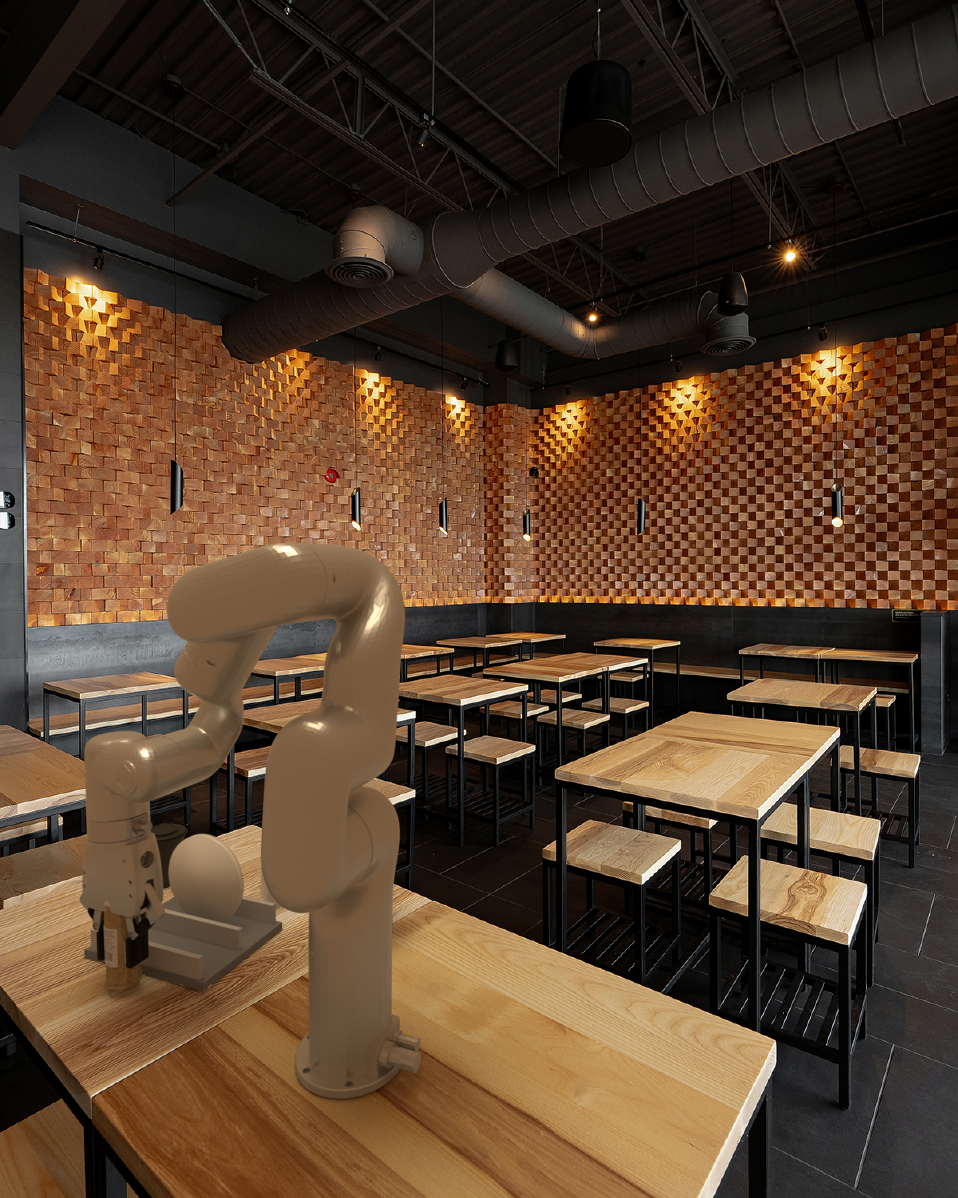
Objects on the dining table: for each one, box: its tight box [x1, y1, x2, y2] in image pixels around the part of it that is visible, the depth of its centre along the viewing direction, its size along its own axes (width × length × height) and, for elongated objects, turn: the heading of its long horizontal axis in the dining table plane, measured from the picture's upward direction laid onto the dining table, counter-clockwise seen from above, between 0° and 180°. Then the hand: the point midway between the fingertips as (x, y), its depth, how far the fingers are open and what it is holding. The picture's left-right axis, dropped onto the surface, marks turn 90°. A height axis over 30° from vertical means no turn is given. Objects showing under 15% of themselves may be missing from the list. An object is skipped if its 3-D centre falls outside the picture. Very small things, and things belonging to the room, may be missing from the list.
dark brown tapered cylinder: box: [150, 822, 188, 889], centre depth 123 cm, size 8×8×10 cm
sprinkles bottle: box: [104, 901, 143, 992], centre depth 91 cm, size 5×5×14 cm
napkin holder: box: [260, 865, 283, 910], centre depth 120 cm, size 15×11×6 cm
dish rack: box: [83, 833, 283, 992], centre depth 103 cm, size 22×17×15 cm
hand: (123, 957), depth 92 cm, fingers closed on sprinkles bottle, 4 cm apart
